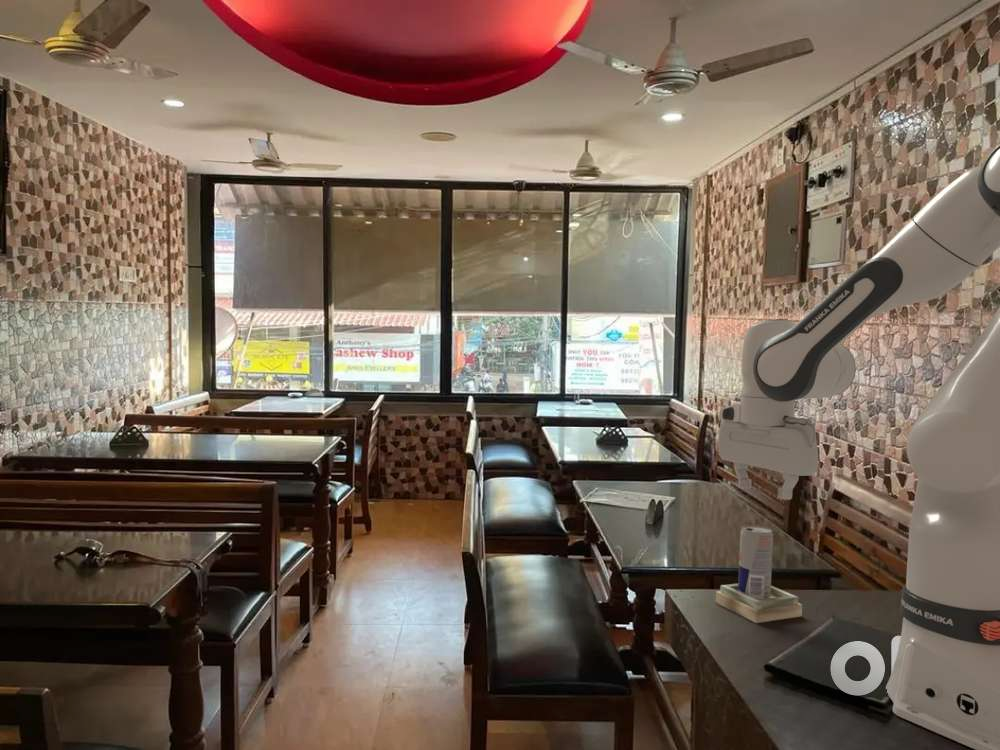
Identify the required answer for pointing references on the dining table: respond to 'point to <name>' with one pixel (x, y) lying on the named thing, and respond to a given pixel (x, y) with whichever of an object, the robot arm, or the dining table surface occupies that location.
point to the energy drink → (755, 562)
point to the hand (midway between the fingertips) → (764, 493)
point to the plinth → (759, 604)
